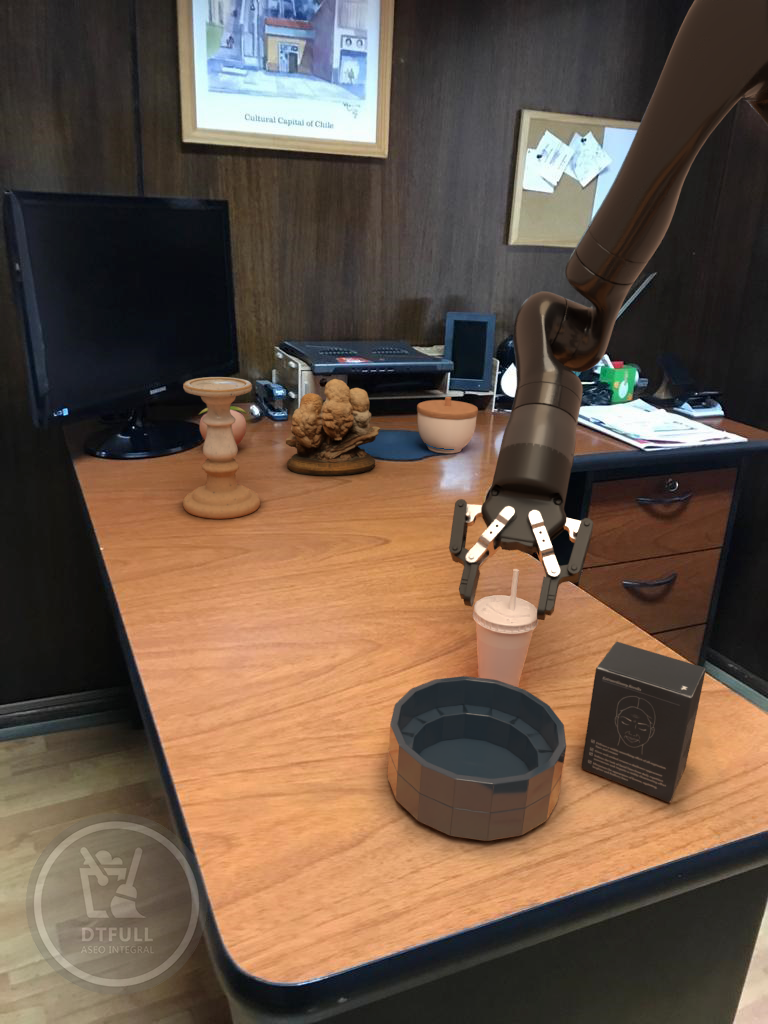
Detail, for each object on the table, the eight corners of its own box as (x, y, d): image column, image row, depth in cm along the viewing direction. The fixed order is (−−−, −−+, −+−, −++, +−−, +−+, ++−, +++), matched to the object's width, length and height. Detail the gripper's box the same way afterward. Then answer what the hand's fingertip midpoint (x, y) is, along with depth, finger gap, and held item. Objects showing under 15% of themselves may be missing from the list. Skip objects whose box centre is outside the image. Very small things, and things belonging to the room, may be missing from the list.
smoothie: (515, 720, 74) (531, 589, 70) (455, 699, 77) (466, 572, 72) (537, 688, 80) (553, 565, 75) (480, 669, 83) (492, 549, 78)
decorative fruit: (209, 459, 149) (207, 408, 146) (195, 448, 156) (193, 399, 152) (254, 454, 154) (254, 405, 150) (240, 443, 160) (239, 396, 157)
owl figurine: (370, 456, 156) (373, 371, 150) (386, 473, 146) (391, 384, 140) (281, 459, 151) (281, 372, 145) (292, 478, 141) (292, 385, 135)
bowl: (551, 742, 72) (559, 686, 69) (562, 858, 58) (572, 794, 56) (399, 723, 73) (402, 668, 71) (376, 832, 60) (379, 768, 58)
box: (685, 769, 69) (708, 666, 65) (669, 806, 64) (693, 697, 60) (599, 737, 73) (615, 638, 69) (578, 769, 68) (595, 665, 64)
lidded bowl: (466, 440, 170) (470, 391, 166) (481, 457, 159) (485, 404, 155) (410, 440, 169) (413, 390, 165) (420, 457, 157) (423, 403, 153)
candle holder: (210, 489, 133) (205, 372, 126) (273, 500, 129) (272, 380, 122) (167, 511, 122) (159, 385, 115) (235, 524, 118) (231, 394, 111)
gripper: (463, 432, 79) (425, 583, 72) (609, 449, 75) (582, 612, 68) (470, 467, 85) (436, 609, 79) (604, 485, 81) (579, 637, 75)
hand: (504, 610), depth 73 cm, fingers open, 6 cm apart
